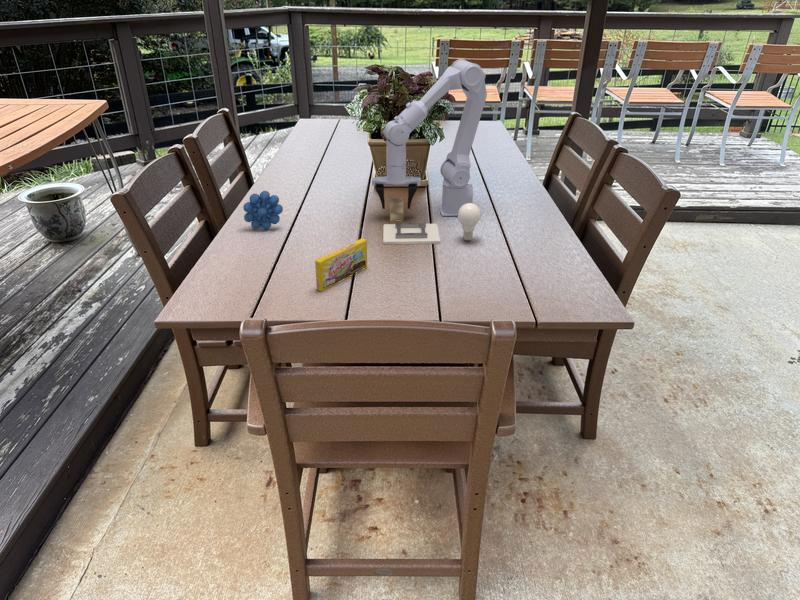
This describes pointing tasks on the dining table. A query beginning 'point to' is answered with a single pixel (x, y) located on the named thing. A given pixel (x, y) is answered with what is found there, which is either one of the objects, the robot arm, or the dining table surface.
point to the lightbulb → (469, 219)
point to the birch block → (396, 209)
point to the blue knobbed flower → (262, 210)
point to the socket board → (410, 233)
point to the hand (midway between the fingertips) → (396, 207)
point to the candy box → (340, 264)
